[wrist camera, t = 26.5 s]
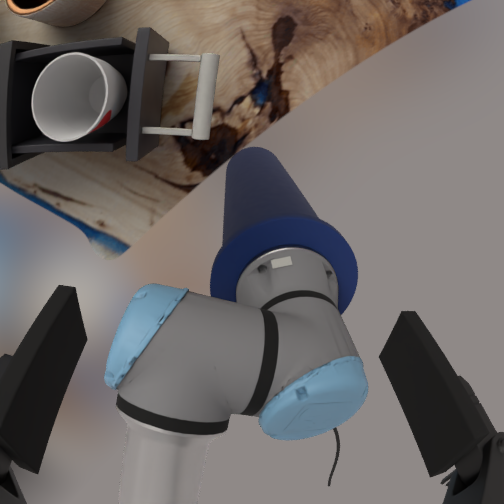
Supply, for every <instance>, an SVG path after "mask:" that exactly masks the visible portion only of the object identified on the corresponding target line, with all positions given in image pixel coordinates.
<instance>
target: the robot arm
mask: <svg viewBox="0 0 504 504" xmlns="http://www.w3.org/2000/svg"><path fill="white" fill-rule="evenodd" d="M236 300H237V303H235V302H231V301H226V300H222V299H218V298H214V297H210V296H206V295H202V294H197V293H194V292H189V289H187V288H184V289H179V288H174V287H169V286H164V285H160V284H148V285H145V286H143V287H142V288H140V289H139V290H138V291H137V293H136V294H135V295H134V297H133V298H132V300H131V301H130V303H129V305H128V307H127V309H126V311H125V313H124V315H123V317H122V320H121V322H120V324H119V327H118V329H117V332H116V334H115V337H114V340H113V343H112V346H111V349H110V352H109V356H108V360H107V365H106V367H107V368H106V372H105V376H104V380H105V383H106V384H107V385H108V386H110V387H111V389H114V390H116V389H118V397H117V403H116V409H117V411H118V412H119V413H120V415H121V416H122V417H123V419H124V420H125V421H126V423H127V425H128V427H127V434H126V440H125V447H124V455H123V463H122V472H121V481H120V491H119V502H118V504H197V501H198V496H199V491H200V486H201V481H202V476H203V471H204V466H205V461H206V456H207V451H208V446H209V443H210V442H211V441H213V440H215V439H217V438H219V437H220V436H222V435H224V434H225V433H226V431H227V428H228V423H229V418H230V415H231V414H242V415H249V416H256V417H259V425H260V427H262V430H263V431H264V433H265V434H267V435H269V436H270V437H272V438H274V439H279V440H298V439H305V438H309V437H313V436H316V435H319V434H322V433H325V432H327V431H329V430H331V429H333V430H334V432H335V435H336V441H337V452H336V458H335V462H334V465H333V468H332V471H331V474H330V477H329V481H328V486H330V483H331V478H332V475H333V472H334V470H335V467H336V464H337V460H338V457H339V451H340V440H339V435H338V431H337V428H336V427H337V426H339V425H341V424H342V423H344V422H345V421H347V420H348V419H349V418H351V417H352V416H353V415H354V414H355V413H356V412H357V411H358V410H359V409H360V407H361V406H362V405H363V403H364V401H365V399H366V397H367V394H368V382H367V379H366V376H365V373H364V369H363V362H362V360H361V358H360V357H359V354H358V352H357V350H356V348H355V346H354V343H353V341H352V339H351V337H350V334H349V332H348V330H347V328H346V326H345V324H344V322H343V319H342V317H341V315H340V313H339V311H338V282H337V278H336V274H335V272H334V270H333V268H332V266H331V264H330V263H329V261H328V260H327V259H326V258H325V257H324V256H323V255H322V254H321V253H320V252H318V251H316V250H314V249H312V248H310V247H307V246H303V245H296V244H286V245H279V246H275V247H272V248H269V249H267V250H264V251H263V252H261V253H259V254H257V255H256V256H255V257H253V258H252V259H251V260H250V261H249V262H248V263H247V264H246V265H245V267H244V268H243V269H242V271H241V273H240V275H239V277H238V280H237V284H236ZM86 342H87V336H86V332H85V328H84V324H83V320H82V316H81V311H80V307H79V303H78V298H77V293H76V288H75V287H70V286H63V285H59V286H58V287H57V288H56V290H55V291H54V293H53V294H52V296H51V297H50V298H49V300H48V302H47V303H46V304H45V306H44V307H43V309H42V311H41V312H40V313H39V315H38V316H37V318H36V320H35V321H34V323H33V324H32V326H31V328H30V329H29V331H28V332H27V334H26V335H25V337H24V339H23V340H22V342H21V344H20V345H19V347H18V349H17V350H16V352H15V354H14V355H13V356H11V355H7V354H4V355H3V356H2V357H1V358H0V504H27V503H26V501H25V499H24V496H23V494H22V492H21V489H20V487H19V485H18V482H17V480H16V477H15V475H14V473H13V470H12V468H11V467H10V464H11V461H12V460H13V461H14V462H15V463H16V464H17V465H18V466H19V467H21V468H23V469H26V470H28V471H31V472H33V473H36V474H38V473H39V470H40V466H41V463H42V459H43V456H44V453H45V450H46V446H47V443H48V440H49V437H50V434H51V431H52V428H53V425H54V422H55V419H56V416H57V414H58V411H59V408H60V405H61V403H62V400H63V398H64V394H65V392H66V389H67V387H68V384H69V382H70V379H71V377H72V375H73V372H74V370H75V367H76V365H77V362H78V360H79V358H80V356H81V353H82V351H83V349H84V346H85V344H86ZM379 358H380V360H381V363H382V365H383V367H384V369H385V371H386V373H387V376H388V378H389V380H390V382H391V384H392V387H393V389H394V391H395V393H396V395H397V398H398V400H399V402H400V404H401V407H402V409H403V411H404V414H405V416H406V418H407V421H408V423H409V426H410V428H411V430H412V433H413V435H414V438H415V440H416V442H417V445H418V447H419V450H420V452H421V455H422V457H423V460H424V462H425V465H426V468H427V470H428V473H429V475H430V477H433V476H436V475H438V474H441V473H444V472H446V471H447V470H448V469H449V468H451V467H452V466H453V465H454V464H455V467H456V469H455V470H454V471H453V472H452V473H450V474H449V475H448V476H446V477H445V478H444V479H443V480H442V482H441V484H444V483H445V482H446V481H448V480H449V479H450V481H449V482H448V483H447V484H446V486H448V489H447V492H446V496H445V498H444V502H443V504H504V432H499V433H497V431H496V430H495V428H494V426H493V425H492V423H491V421H490V419H489V417H488V416H487V414H486V412H485V410H484V408H483V407H482V405H481V403H479V400H478V398H477V396H475V393H474V392H473V390H472V388H471V386H470V385H469V383H468V382H467V381H466V380H464V379H463V378H462V377H461V376H457V374H456V373H455V371H454V369H453V368H452V366H451V365H450V363H449V361H448V360H447V358H446V357H445V355H444V353H443V352H442V351H441V349H440V347H439V346H438V344H437V343H436V341H435V340H434V338H433V337H432V335H431V334H430V332H429V331H428V329H427V328H426V326H425V325H424V323H423V322H422V320H421V319H420V317H419V316H418V315H417V313H416V312H415V311H401V314H400V316H399V318H398V320H397V322H396V324H395V326H394V328H393V330H392V332H391V334H390V336H389V338H388V340H387V342H386V344H385V346H384V348H383V350H382V352H381V354H380V355H379Z"/></svg>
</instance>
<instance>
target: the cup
mask: <svg viewBox="0 0 504 504" xmlns="http://www.w3.org/2000/svg"><path fill="white" fill-rule="evenodd" d="M126 98H127V86H126V82H125V80H124V78H123V76H122V75H121V73H120V72H119V71H117V70H116V69H115V68H114V67H112V66H111V65H110V64H109V63H107V62H105V61H103V60H100V59H98V58H95V57H92V56H90V55H87V54H84V53H78V52H74V53H67V54H64V55H62V56H59V57H58V58H56V59H54V60H53V61H52V62H50V63H49V64H48V65H47V66H46V67H45V68H44V70H43V71H42V72H41V74H40V75H39V77H38V79H37V81H36V83H35V86H34V89H33V94H32V113H33V117H34V120H35V122H36V124H37V126H38V127H39V129H40V130H41V131H42V132H43V133H44V134H45V135H46V136H48V137H49V138H51V139H53V140H56V141H62V142H67V141H73V140H76V139H79V138H81V137H83V136H85V135H87V134H89V133H91V132H93V131H95V130H97V129H99V128H101V127H102V126H104V125H105V124H106V123H107V122H109V121H110V120H111V119H113V118H114V117H115V116H116V115H117V114H118V113H119V112H120V110H121V109H122V107H123V105H124V103H125V101H126Z"/></svg>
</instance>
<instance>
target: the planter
mask: <svg viewBox="0 0 504 504" xmlns="http://www.w3.org/2000/svg"><path fill="white" fill-rule="evenodd" d="M105 2H106V0H5V3H6V6H7V8H8V10H9V11H10V12H11V13H12V14H14V15H16V16H20V17H24V18H28V19H32V20H36V21H39V22H43V23H46V24H49V25H53V26H57V27H67V26H72V25H76V24H78V23H81V22H82V21H84V20H86V19H88V18H89V17H91V16H92V15H93V14H94V13H96V12H97V11H98V10H99V9H100V8H101V7H102V5H103V4H104V3H105Z"/></svg>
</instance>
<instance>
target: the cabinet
mask: <svg viewBox="0 0 504 504" xmlns="http://www.w3.org/2000/svg"><path fill="white" fill-rule="evenodd" d="M49 46H50V45H44V44H37V43H30V42H22V41H13V40H12V41H9V42H6V43H2V44H0V169H9V168H11V167H13V166H15V165H17V164H20V163H22V162H24V161H26V160H28V159H30V158H33V157H35V156H37V155H39V154H42V153H44V152H35V153H15V154H12V151H11V100H12V83H13V71H14V62H15V54H17V53H21V52H26V51H30V50H34V49H39V48H44V47H49Z"/></svg>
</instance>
